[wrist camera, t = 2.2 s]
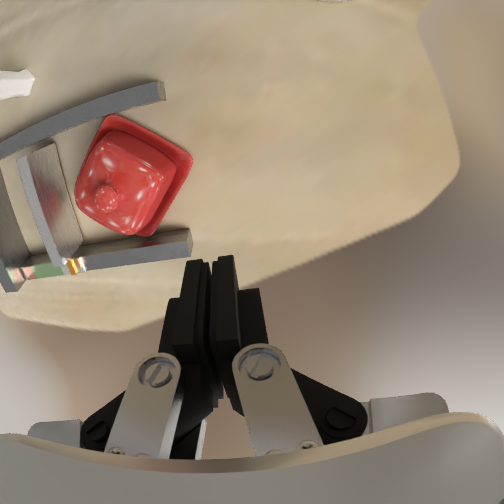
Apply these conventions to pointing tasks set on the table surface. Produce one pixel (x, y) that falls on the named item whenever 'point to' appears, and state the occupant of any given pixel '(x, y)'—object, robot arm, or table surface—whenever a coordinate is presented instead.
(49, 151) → the brushed metal plate
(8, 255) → the grey open box
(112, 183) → the butter dish
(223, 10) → the table surface
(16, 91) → the perfume bottle
